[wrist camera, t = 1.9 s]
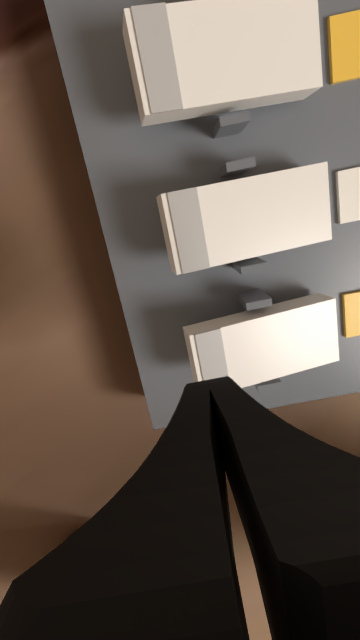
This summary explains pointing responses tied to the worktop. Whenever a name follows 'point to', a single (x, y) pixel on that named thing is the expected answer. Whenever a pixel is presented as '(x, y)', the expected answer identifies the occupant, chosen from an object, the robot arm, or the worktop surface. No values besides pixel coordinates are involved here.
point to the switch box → (209, 168)
